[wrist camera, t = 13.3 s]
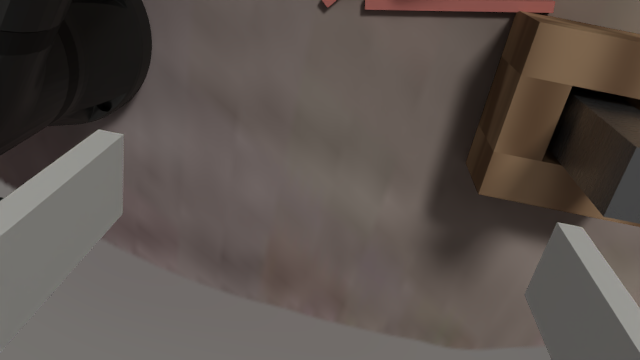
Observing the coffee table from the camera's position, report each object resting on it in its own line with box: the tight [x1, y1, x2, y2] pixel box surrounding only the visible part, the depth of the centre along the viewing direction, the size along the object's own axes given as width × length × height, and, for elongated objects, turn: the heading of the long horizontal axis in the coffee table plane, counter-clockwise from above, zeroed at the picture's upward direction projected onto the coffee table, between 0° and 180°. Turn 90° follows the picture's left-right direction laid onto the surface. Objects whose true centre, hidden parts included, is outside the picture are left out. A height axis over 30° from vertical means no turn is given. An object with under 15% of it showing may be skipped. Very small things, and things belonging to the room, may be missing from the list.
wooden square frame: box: [466, 11, 640, 227], centre depth 40 cm, size 13×13×6 cm
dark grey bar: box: [548, 86, 640, 224], centre depth 36 cm, size 4×4×15 cm
